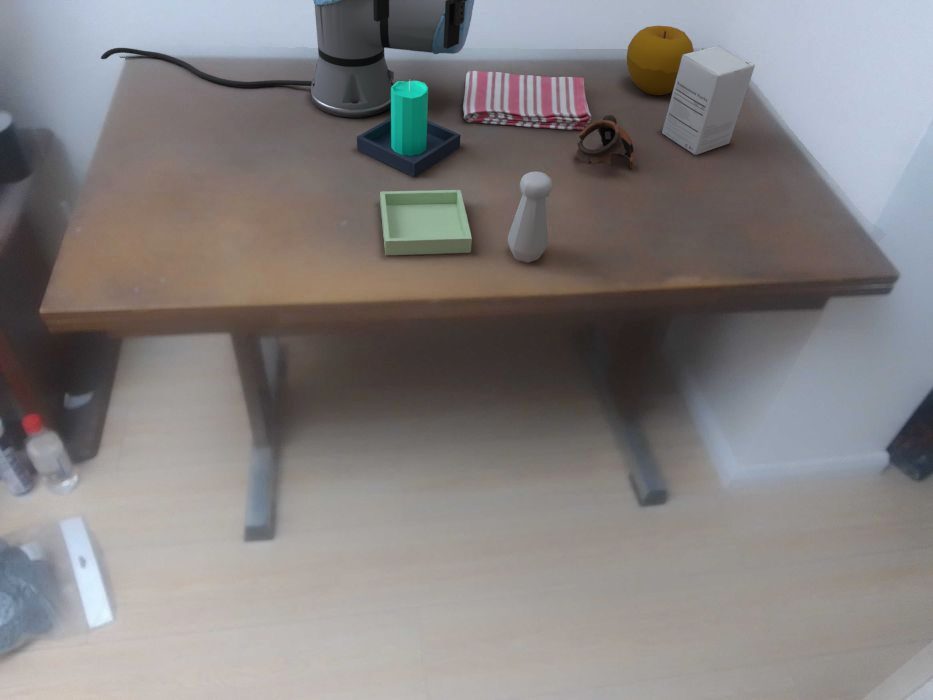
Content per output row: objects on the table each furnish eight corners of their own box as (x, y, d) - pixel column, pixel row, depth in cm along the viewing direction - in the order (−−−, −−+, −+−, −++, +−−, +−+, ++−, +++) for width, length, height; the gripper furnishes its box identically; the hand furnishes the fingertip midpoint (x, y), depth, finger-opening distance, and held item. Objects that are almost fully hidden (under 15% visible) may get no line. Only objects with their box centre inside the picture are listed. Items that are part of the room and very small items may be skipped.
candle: (431, 142, 131) (434, 75, 123) (418, 158, 127) (420, 90, 119) (399, 134, 132) (399, 67, 124) (385, 150, 128) (384, 82, 120)
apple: (610, 90, 151) (622, 32, 143) (635, 67, 159) (648, 11, 151) (671, 110, 146) (687, 51, 138) (694, 85, 154) (710, 29, 146)
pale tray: (385, 255, 109) (385, 241, 107) (380, 205, 118) (380, 191, 116) (470, 252, 111) (472, 238, 109) (459, 203, 120) (460, 189, 118)
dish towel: (590, 132, 138) (593, 114, 136) (462, 123, 137) (463, 105, 135) (581, 88, 150) (584, 71, 148) (463, 80, 150) (464, 62, 147)
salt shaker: (504, 241, 114) (513, 164, 104) (541, 241, 114) (554, 165, 105) (508, 266, 109) (519, 188, 100) (548, 266, 110) (562, 189, 101)
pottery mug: (639, 181, 128) (626, 148, 122) (584, 194, 132) (569, 162, 126) (637, 130, 134) (625, 95, 128) (585, 144, 138) (571, 110, 132)
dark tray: (357, 150, 129) (356, 136, 127) (404, 123, 136) (404, 110, 134) (414, 177, 124) (414, 163, 122) (459, 148, 131) (460, 134, 130)
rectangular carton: (695, 122, 144) (718, 43, 133) (730, 144, 138) (757, 64, 128) (659, 133, 140) (681, 52, 129) (694, 156, 135) (719, 74, 124)
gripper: (329, -148, 102) (337, 14, 117) (477, -107, 92) (466, 65, 107) (367, -155, 107) (370, 2, 121) (513, -117, 97) (497, 49, 111)
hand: (415, 32), depth 114 cm, fingers open, 13 cm apart
